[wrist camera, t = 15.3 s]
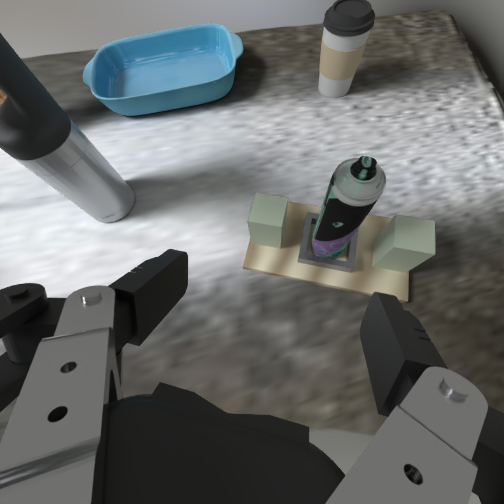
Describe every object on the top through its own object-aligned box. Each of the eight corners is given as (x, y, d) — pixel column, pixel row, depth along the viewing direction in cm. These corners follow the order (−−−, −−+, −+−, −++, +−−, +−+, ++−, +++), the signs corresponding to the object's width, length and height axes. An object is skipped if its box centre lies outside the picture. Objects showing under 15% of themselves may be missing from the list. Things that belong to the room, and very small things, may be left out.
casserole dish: (238, 46, 67) (234, 12, 61) (253, 103, 59) (250, 71, 52) (104, 73, 68) (85, 43, 61) (99, 134, 59) (77, 106, 53)
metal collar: (297, 262, 42) (298, 258, 40) (305, 217, 45) (307, 211, 43) (350, 272, 40) (354, 269, 39) (355, 226, 43) (359, 220, 42)
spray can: (316, 263, 41) (350, 191, 23) (306, 234, 44) (330, 146, 25) (348, 255, 42) (408, 177, 23) (336, 226, 44) (383, 134, 25)
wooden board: (243, 268, 43) (242, 266, 42) (261, 200, 48) (261, 197, 47) (404, 302, 39) (408, 301, 38) (406, 224, 44) (410, 221, 43)
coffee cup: (324, 70, 61) (338, -14, 47) (360, 80, 58) (387, -5, 44) (307, 94, 58) (317, 13, 44) (344, 106, 56) (367, 24, 42)
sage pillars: (252, 243, 44) (247, 220, 36) (258, 218, 46) (255, 192, 38) (405, 272, 40) (435, 254, 32) (406, 244, 41) (434, 220, 34)
